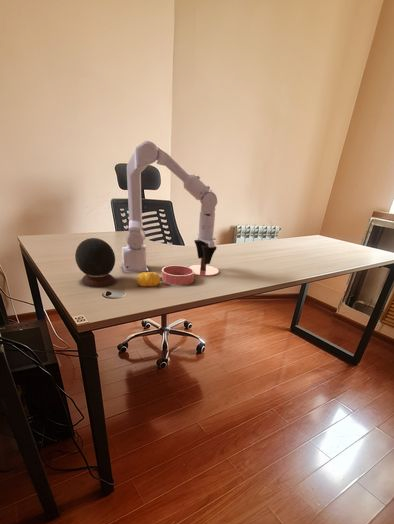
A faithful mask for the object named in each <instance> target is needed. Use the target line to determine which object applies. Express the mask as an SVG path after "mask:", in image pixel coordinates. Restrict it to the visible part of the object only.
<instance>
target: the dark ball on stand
mask: <svg viewBox="0 0 394 524" xmlns="http://www.w3.org/2000/svg"><path fill="white" fill-rule="evenodd" d="M74 259H75V262H76V265H77V267H78V269H79V270H80V272H82V273H83V274H84V275H83V277H82V278H81V283H82V285H84V286H86V287H90V288H104V287H109V286H111V285H113V284H114V283H115V278H114V276H113V275H112V274H110V273H111V272H112V271H113V270H114V267H115V265H116V255H115V251H114V249H113V248H112V246H111V245H110V244H109V243H108V242H106V241H105V240H103V239H101V238H97V237H91V238H90V237H89V238H86V239H85V240H83V241H81V242H80V243H79V244H78V246H77V247H76V250H75V255H74Z"/></svg>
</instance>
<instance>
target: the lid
mask: <svg viewBox="0 0 394 524" xmlns="http://www.w3.org/2000/svg"><path fill="white" fill-rule="evenodd" d="M188 267H189V268H192V269H193V270H194V276H199V277H214V276H217V275H218V274H219V271H220V270H219V269H218V268H216V267H215V266H211V265H208V264H204V257H201V258H200V264H194V265H190V266H188Z"/></svg>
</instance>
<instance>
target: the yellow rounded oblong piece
mask: <svg viewBox="0 0 394 524" xmlns="http://www.w3.org/2000/svg"><path fill="white" fill-rule="evenodd" d="M136 282H137V284H138V285H139V286H140V287H143V288H144V287H145V288H147V287H156V286H158V285H159V284H160V282H163V280H162V276H160V275H159V274H158V272H155V271H142V272H139V273H138V274H137V276H136Z"/></svg>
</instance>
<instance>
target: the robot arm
mask: <svg viewBox="0 0 394 524" xmlns="http://www.w3.org/2000/svg"><path fill="white" fill-rule="evenodd" d="M155 162H156V164H157V165H160V166H164V167H166V168H167V169H168V170H169V171H170V172H171V173H173V174H174V175H175V177H177V178H178V179H180V180H181V181H182V182H183V188H184V190H186V192H188V194H190V195H191V196H192V197H193V198H194V199H195V200H197V201H199V202H200V212H199V219H198V221H199V222H198V233H197V235H196V239H194V244H195V247H196V251H197V253H196V254H197V258H198V259H201V257H204V264H206V265H210V264H211V261H212V258H213V256H214V254H215V252H216V250H217V246H216V245H215V240H216V239H217V237H215V236H214V231H215V220H216V219H215V217H216V213H215V212H216V207H217V205H218V197H217V195H216V194H215V193H214V191H213V190H212V189H211V187H210V186H209V185H206V183H204V182H203V180H201V176H200V175H199V174H195V173H188V172H187V171H186V170H185V169H184V168H183V167H182V166H181V165H180V164H179V163H178V162H177V160H175V159H174V158H173V157H172V156H171V155H170V154H169V153H168V152H166V151H165V150H163V149H162V148H161V147H160V146H157V144H156V143H154V142H153V141H149V140H143V141H142V142H141V143H140V144H138V145H137V146H136V147H135V149H134V151H133V153H132V155H131V156H130V158H129V160H128V162H127V164H126V183H127V184H126V185H127V198H128V199H127V203H128V232H127V235H126V244H127V245H126V246H123V247H121V259H122V260H121V261H122V262H121V263H122V264H121V265H122V268H123V270H124V272H125V273H137V272H139V273H140V272H150V271H149V268H148V266H147V245H146V244H145V243H144V241H145V239H146V231H145V230H144V225H143V224H144V223H143V212H142V211H143V210H142V209H143V208H142V205H143V203H142V175H141V173H142V172H143V171H144V170H145V169H146V168H147V167H148V166H149V165H152V164H153V163H155Z"/></svg>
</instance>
